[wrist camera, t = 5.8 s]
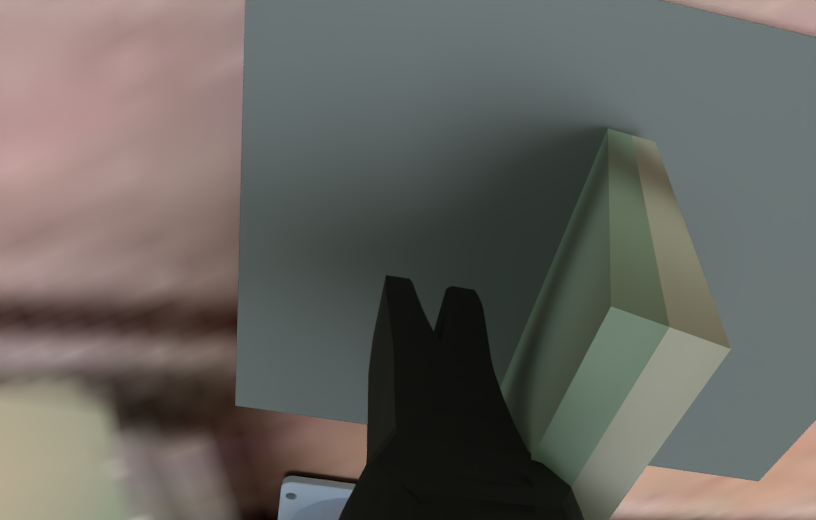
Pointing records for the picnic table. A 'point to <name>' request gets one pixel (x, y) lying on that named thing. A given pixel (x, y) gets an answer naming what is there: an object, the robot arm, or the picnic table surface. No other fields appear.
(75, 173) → the picnic table surface
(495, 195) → the board
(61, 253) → the picnic table surface
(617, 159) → the tile
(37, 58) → the picnic table surface
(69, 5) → the picnic table surface
